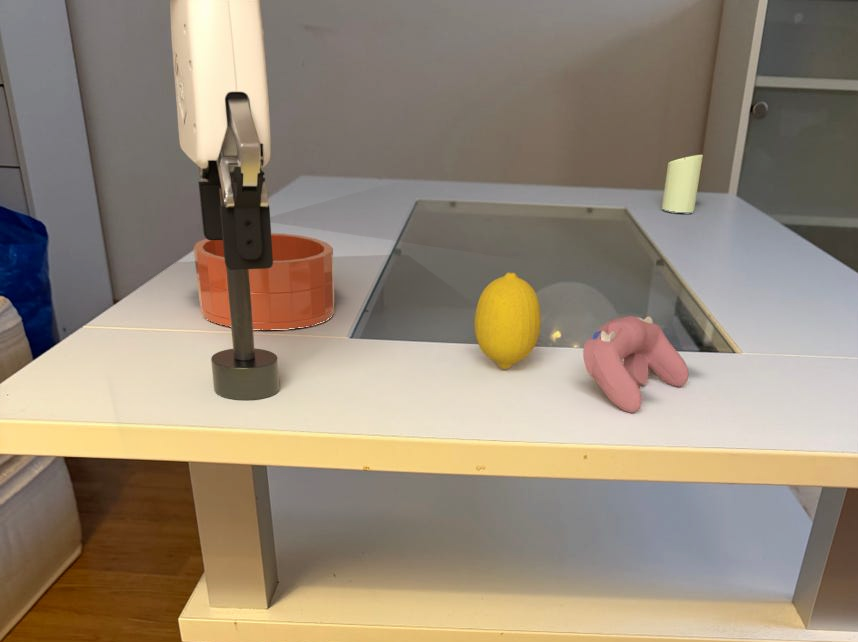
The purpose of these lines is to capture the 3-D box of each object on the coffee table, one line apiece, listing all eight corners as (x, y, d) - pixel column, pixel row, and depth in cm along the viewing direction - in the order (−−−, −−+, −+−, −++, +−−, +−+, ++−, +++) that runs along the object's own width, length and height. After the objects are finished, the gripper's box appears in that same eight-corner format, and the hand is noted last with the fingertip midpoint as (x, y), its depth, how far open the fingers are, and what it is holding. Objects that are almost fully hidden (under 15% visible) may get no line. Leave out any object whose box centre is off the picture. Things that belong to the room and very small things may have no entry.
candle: (658, 211, 152) (666, 153, 147) (665, 207, 156) (674, 149, 151) (689, 215, 150) (699, 156, 146) (696, 211, 154) (706, 153, 150)
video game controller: (648, 393, 86) (626, 313, 84) (695, 381, 82) (673, 298, 81) (591, 424, 79) (565, 337, 77) (639, 412, 76) (614, 321, 74)
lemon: (462, 361, 85) (466, 266, 81) (520, 356, 87) (527, 263, 83) (488, 382, 81) (493, 282, 77) (547, 376, 83) (556, 279, 79)
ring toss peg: (220, 402, 74) (200, 195, 66) (209, 381, 78) (189, 182, 70) (285, 397, 76) (274, 194, 68) (272, 376, 80) (259, 182, 72)
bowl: (212, 334, 88) (205, 265, 85) (192, 298, 98) (185, 234, 94) (349, 327, 92) (347, 260, 89) (316, 292, 102) (314, 231, 99)
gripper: (136, -39, 67) (168, 229, 77) (169, -40, 54) (202, 285, 63) (247, -32, 70) (264, 227, 79) (304, -31, 56) (317, 280, 66)
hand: (237, 252), depth 71 cm, fingers open, 8 cm apart
